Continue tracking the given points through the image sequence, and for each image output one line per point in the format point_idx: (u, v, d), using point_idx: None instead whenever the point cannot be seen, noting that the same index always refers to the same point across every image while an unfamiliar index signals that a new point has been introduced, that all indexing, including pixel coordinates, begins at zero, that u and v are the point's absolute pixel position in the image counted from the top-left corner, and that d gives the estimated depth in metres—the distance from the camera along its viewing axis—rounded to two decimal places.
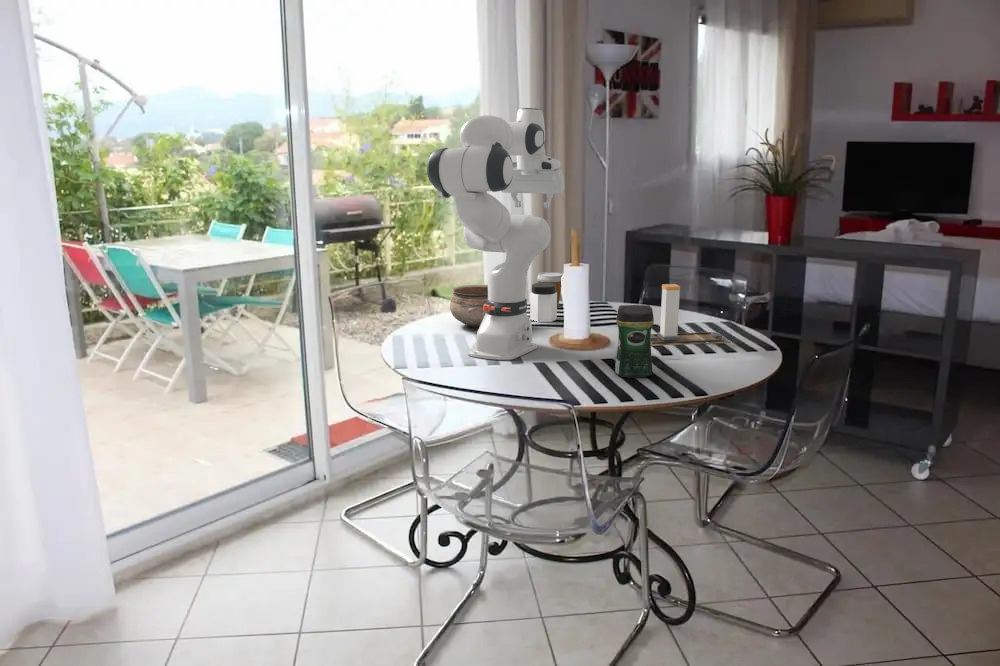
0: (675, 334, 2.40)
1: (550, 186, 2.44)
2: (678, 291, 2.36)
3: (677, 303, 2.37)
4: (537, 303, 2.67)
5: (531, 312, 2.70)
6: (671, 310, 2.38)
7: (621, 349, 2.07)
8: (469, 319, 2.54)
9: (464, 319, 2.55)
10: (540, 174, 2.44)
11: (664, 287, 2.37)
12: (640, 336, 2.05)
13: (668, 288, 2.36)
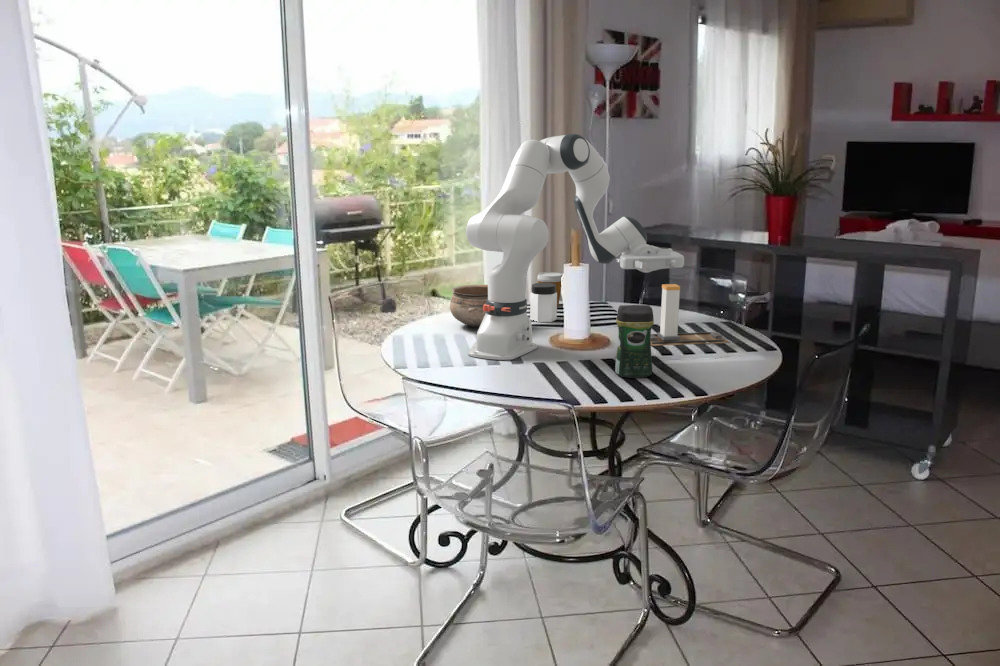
0: (675, 334, 2.40)
1: (672, 255, 2.56)
2: (678, 291, 2.36)
3: (677, 303, 2.37)
4: (537, 303, 2.67)
5: (531, 312, 2.70)
6: (671, 310, 2.38)
7: (621, 349, 2.07)
8: (469, 319, 2.54)
9: (464, 319, 2.55)
10: (659, 253, 2.59)
11: (664, 287, 2.37)
12: (640, 336, 2.05)
13: (668, 288, 2.36)
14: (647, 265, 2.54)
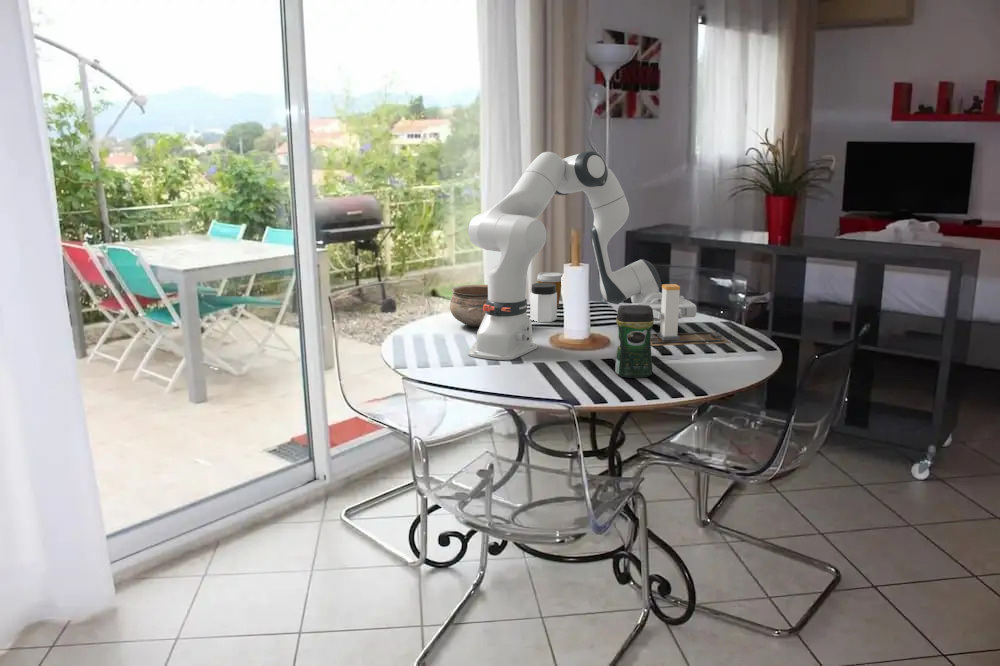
0: (675, 334, 2.40)
1: (684, 304, 2.46)
2: (678, 291, 2.36)
3: (677, 303, 2.37)
4: (537, 303, 2.67)
5: (531, 312, 2.70)
6: (671, 310, 2.38)
7: (621, 349, 2.07)
8: (469, 319, 2.54)
9: (464, 319, 2.55)
10: None
11: (664, 287, 2.37)
12: (640, 336, 2.05)
13: (668, 288, 2.36)
14: None
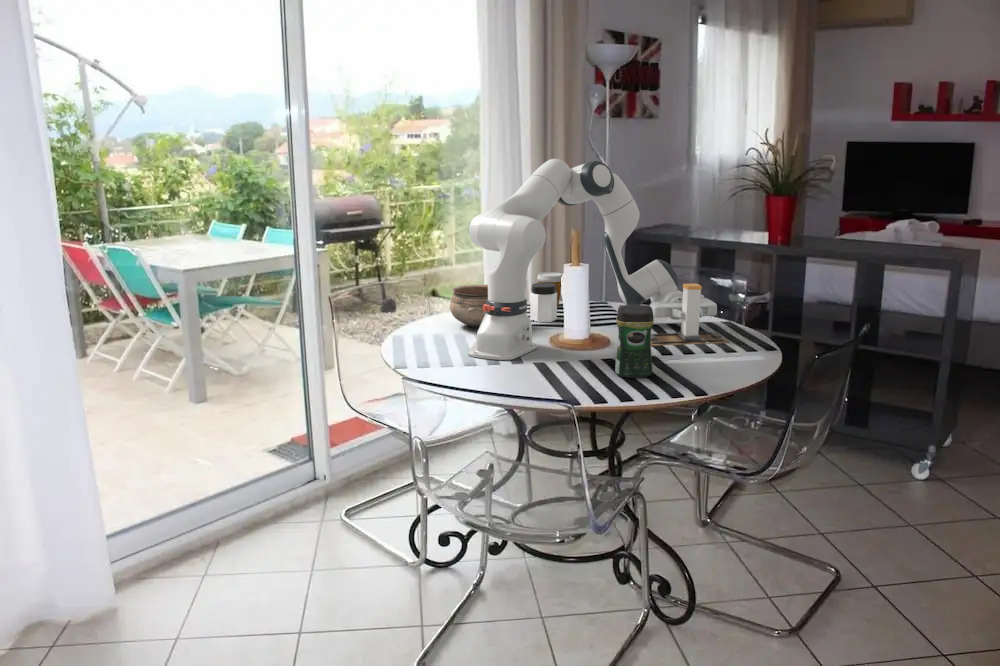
0: (696, 333, 2.40)
1: (704, 303, 2.47)
2: (700, 290, 2.37)
3: (698, 302, 2.38)
4: (537, 303, 2.67)
5: (531, 312, 2.70)
6: (692, 309, 2.38)
7: (621, 349, 2.07)
8: (469, 319, 2.54)
9: (464, 319, 2.55)
10: None
11: (685, 286, 2.38)
12: (640, 336, 2.05)
13: (689, 287, 2.37)
14: None
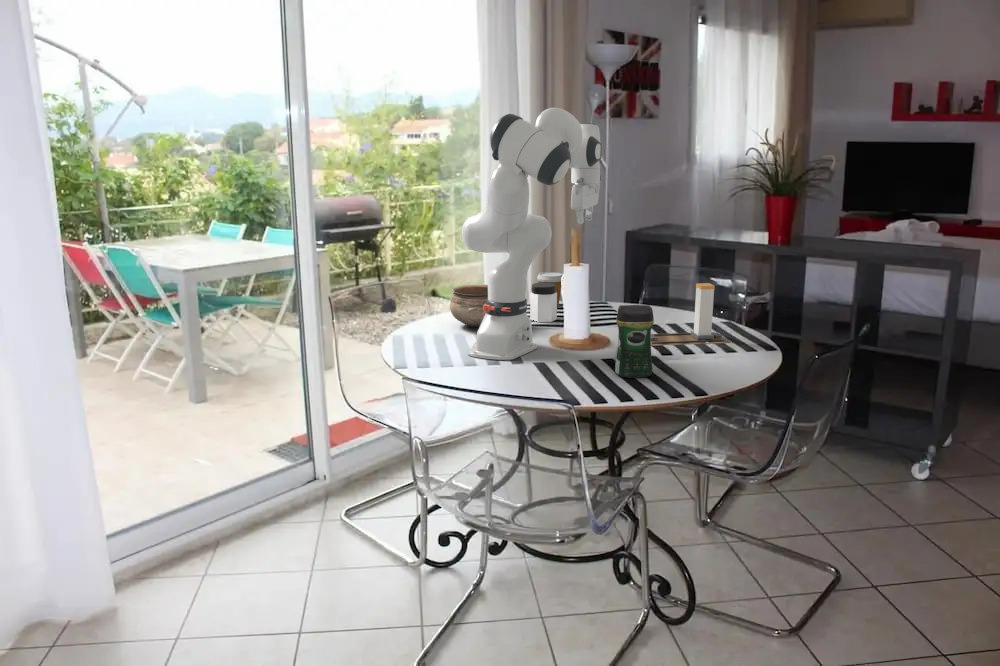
0: (709, 333, 2.41)
1: (595, 198, 2.56)
2: (713, 290, 2.38)
3: (711, 302, 2.39)
4: (537, 303, 2.67)
5: (531, 312, 2.70)
6: (705, 309, 2.39)
7: (621, 349, 2.07)
8: (469, 319, 2.54)
9: (464, 319, 2.55)
10: (594, 187, 2.53)
11: (698, 286, 2.39)
12: (640, 336, 2.05)
13: (703, 287, 2.37)
14: None
